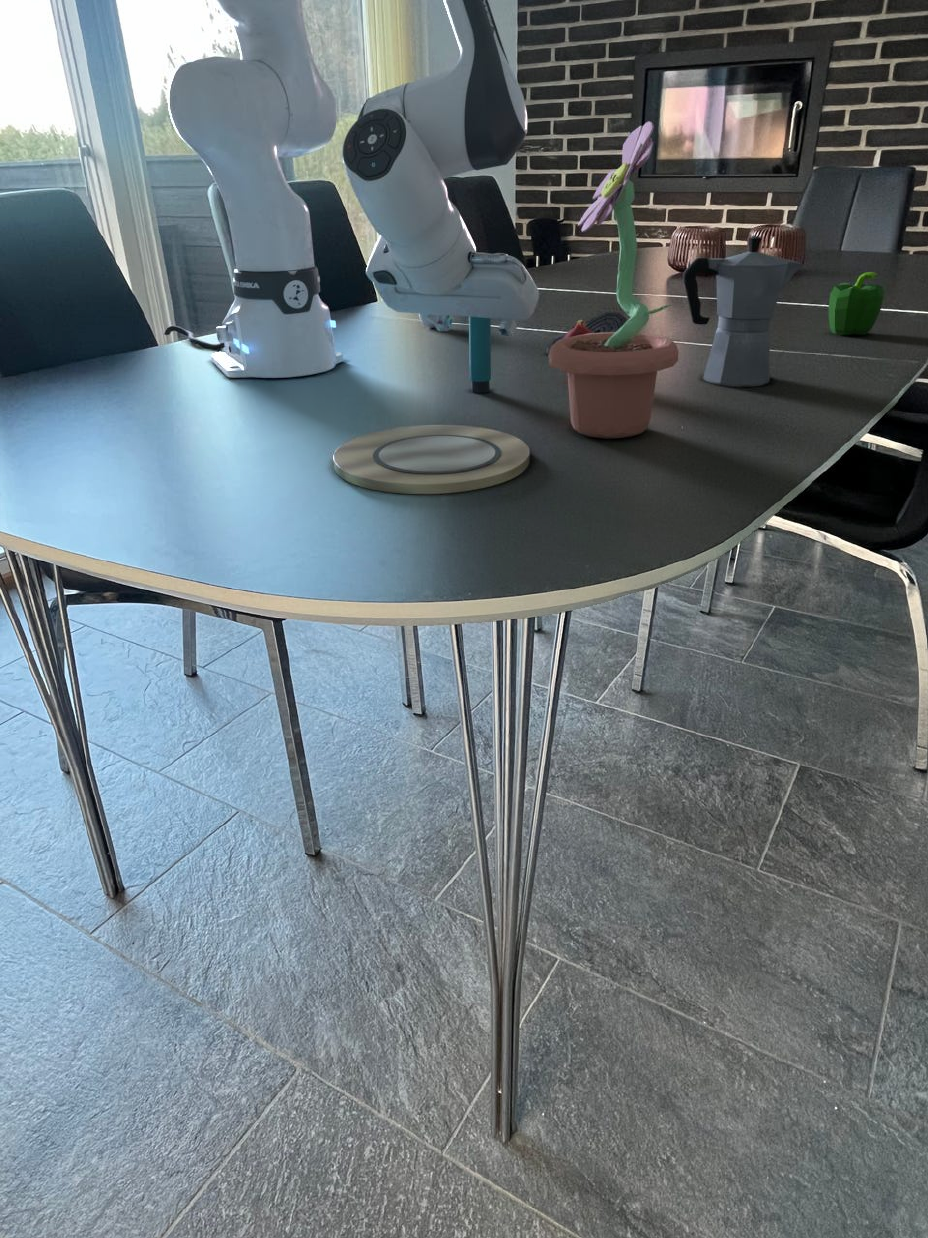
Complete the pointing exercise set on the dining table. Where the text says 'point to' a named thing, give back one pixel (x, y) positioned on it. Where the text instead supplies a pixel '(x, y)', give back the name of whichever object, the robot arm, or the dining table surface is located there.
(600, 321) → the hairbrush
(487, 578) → the dining table surface
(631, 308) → the decorative flower
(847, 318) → the bell pepper
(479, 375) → the marker
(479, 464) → the round wooden trivet
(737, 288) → the coffeepot
